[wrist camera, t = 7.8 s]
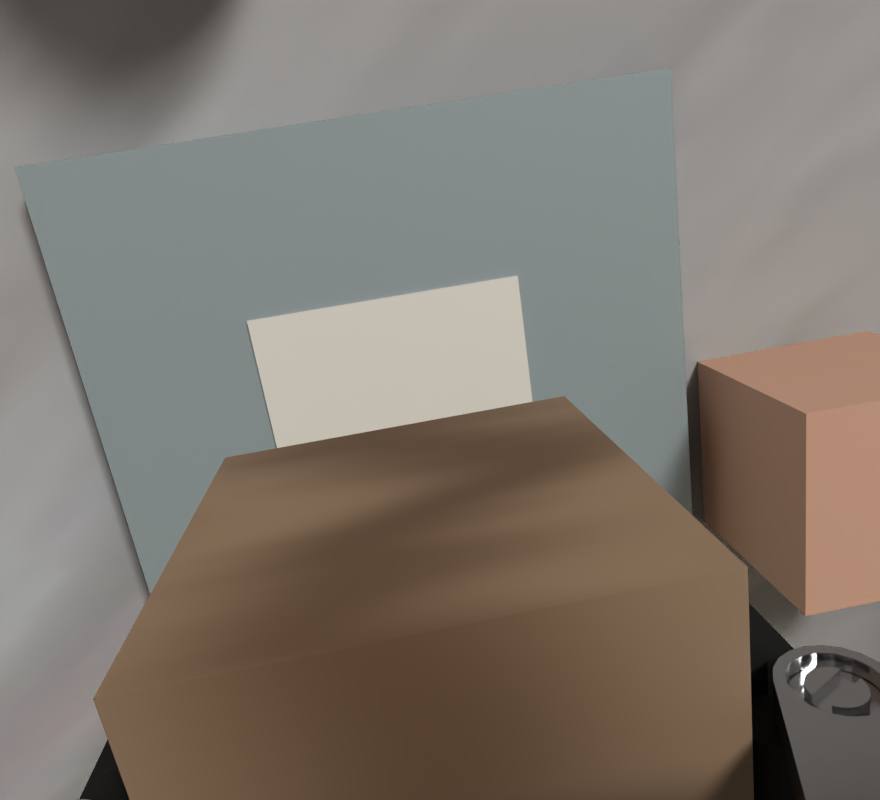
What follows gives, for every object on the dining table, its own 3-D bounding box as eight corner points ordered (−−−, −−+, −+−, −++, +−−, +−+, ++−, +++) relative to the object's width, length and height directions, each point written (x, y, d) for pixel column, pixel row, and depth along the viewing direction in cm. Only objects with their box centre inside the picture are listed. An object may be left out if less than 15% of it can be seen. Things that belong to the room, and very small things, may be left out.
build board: (653, 75, 20) (672, 66, 19) (682, 598, 25) (698, 618, 24) (35, 169, 19) (12, 167, 18) (197, 694, 24) (188, 720, 23)
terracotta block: (865, 330, 23) (1028, 372, 18) (860, 490, 25) (1007, 575, 19) (696, 361, 23) (806, 413, 17) (703, 520, 25) (805, 616, 19)
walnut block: (564, 396, 12) (748, 567, 6) (593, 677, 14) (759, 1012, 8) (225, 457, 12) (92, 698, 6) (298, 738, 13) (252, 1136, 8)
